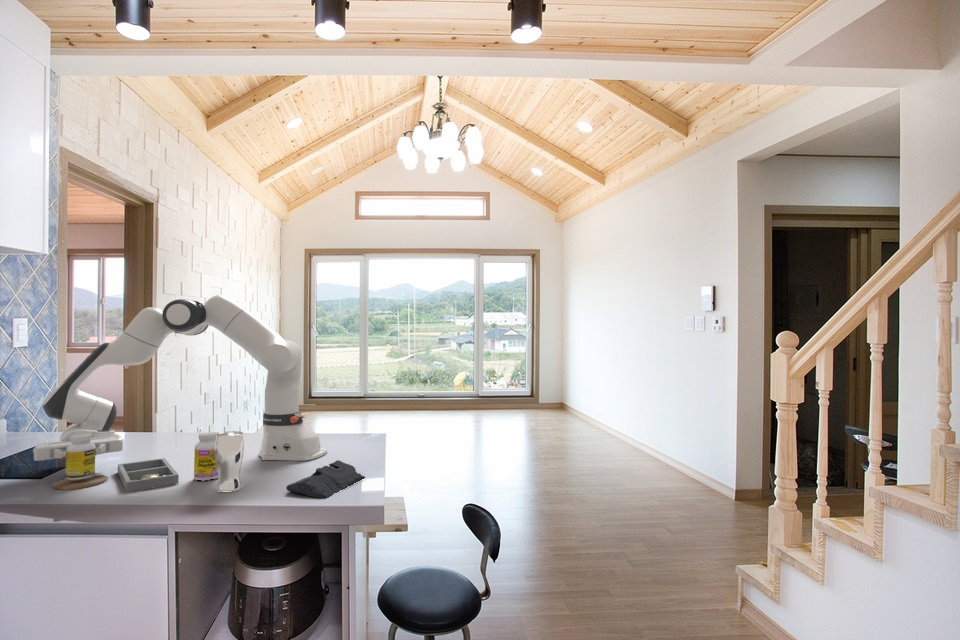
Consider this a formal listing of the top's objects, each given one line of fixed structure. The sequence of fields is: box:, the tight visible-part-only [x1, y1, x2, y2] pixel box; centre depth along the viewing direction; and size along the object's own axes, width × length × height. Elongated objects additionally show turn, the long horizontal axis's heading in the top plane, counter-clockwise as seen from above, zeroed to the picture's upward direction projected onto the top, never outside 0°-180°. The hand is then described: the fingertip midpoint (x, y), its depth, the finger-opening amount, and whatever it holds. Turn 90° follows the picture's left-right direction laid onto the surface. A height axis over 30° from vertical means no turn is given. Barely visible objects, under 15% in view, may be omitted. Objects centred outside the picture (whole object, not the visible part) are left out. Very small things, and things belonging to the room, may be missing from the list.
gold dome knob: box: [140, 474, 159, 480], centre depth 146 cm, size 4×4×2 cm
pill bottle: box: [65, 434, 96, 480], centre depth 145 cm, size 6×6×12 cm
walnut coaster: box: [52, 474, 108, 491], centre depth 145 cm, size 12×12×1 cm
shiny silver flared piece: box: [215, 430, 245, 492], centre depth 141 cm, size 7×7×15 cm
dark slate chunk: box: [286, 459, 366, 499], centre depth 146 cm, size 15×22×5 cm
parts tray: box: [117, 457, 180, 493], centre depth 151 cm, size 23×12×2 cm, turn 39°
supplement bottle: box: [193, 431, 218, 481], centre depth 151 cm, size 7×7×13 cm
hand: (81, 453), depth 145 cm, fingers closed on pill bottle, 6 cm apart
